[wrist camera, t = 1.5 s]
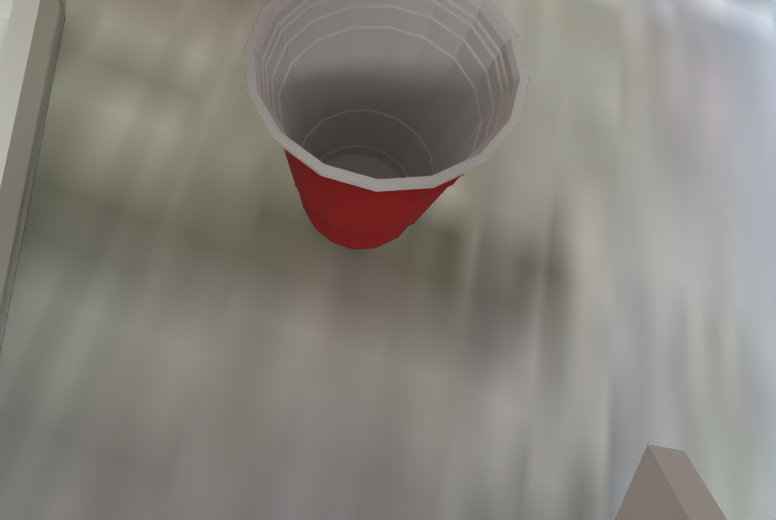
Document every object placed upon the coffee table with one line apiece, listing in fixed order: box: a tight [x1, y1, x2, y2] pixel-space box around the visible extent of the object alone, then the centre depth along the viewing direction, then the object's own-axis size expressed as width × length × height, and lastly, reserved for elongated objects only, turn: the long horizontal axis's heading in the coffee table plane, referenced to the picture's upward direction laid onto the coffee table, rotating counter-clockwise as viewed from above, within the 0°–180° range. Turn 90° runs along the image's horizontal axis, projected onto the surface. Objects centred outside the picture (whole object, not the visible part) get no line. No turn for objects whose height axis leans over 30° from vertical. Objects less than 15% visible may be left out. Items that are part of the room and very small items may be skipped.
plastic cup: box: [245, 0, 529, 249], centre depth 32 cm, size 11×11×12 cm
